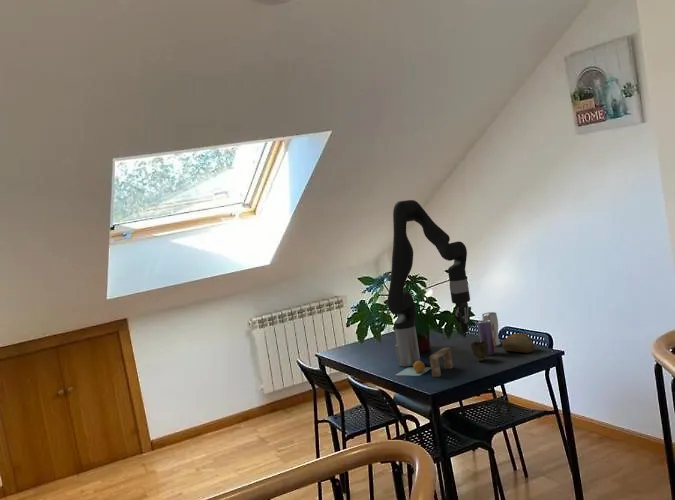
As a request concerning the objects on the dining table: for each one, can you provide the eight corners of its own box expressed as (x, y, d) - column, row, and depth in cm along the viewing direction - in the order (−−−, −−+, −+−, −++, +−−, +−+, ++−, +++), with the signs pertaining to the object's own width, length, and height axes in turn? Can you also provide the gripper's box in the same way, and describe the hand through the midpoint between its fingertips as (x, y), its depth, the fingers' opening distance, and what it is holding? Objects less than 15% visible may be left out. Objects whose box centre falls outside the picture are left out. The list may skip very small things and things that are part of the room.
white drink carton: (502, 345, 339) (498, 313, 338) (487, 347, 339) (483, 316, 338) (499, 342, 346) (495, 311, 345) (484, 344, 346) (480, 313, 345)
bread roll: (510, 348, 332) (507, 331, 331) (539, 349, 321) (537, 331, 321) (498, 353, 325) (496, 336, 324) (528, 355, 314) (526, 337, 314)
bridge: (432, 376, 303) (429, 356, 303) (446, 367, 315) (443, 347, 314) (438, 376, 302) (435, 356, 301) (453, 367, 313) (450, 347, 313)
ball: (414, 360, 311) (424, 367, 309) (419, 357, 315) (428, 364, 314) (409, 369, 313) (418, 376, 311) (414, 366, 317) (423, 373, 315)
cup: (479, 357, 323) (476, 340, 322) (493, 358, 317) (490, 340, 317) (469, 362, 318) (466, 344, 317) (483, 363, 312) (481, 345, 312)
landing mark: (395, 375, 315) (395, 375, 315) (408, 367, 324) (408, 367, 324) (419, 375, 308) (419, 375, 308) (432, 367, 318) (432, 367, 318)
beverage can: (492, 355, 323) (487, 322, 322) (479, 355, 327) (475, 322, 325) (497, 352, 328) (493, 319, 327) (485, 352, 331) (480, 319, 330)
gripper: (457, 288, 306) (463, 328, 307) (444, 294, 295) (450, 336, 296) (474, 287, 302) (480, 328, 303) (461, 293, 291) (467, 335, 292)
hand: (465, 331), depth 300 cm, fingers closed
